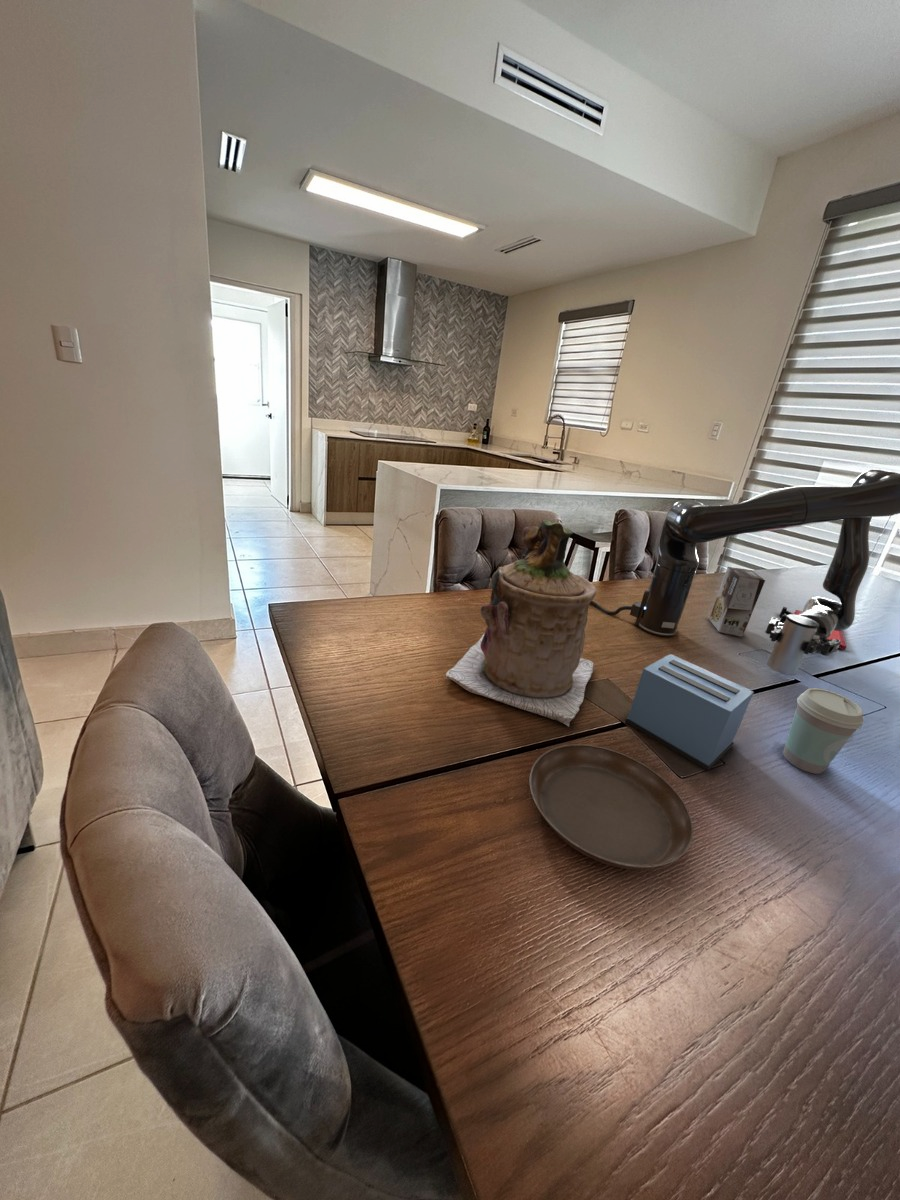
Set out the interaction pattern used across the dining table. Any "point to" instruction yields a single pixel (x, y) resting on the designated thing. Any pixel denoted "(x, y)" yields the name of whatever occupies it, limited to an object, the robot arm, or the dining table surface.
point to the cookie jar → (533, 632)
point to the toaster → (688, 709)
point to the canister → (792, 644)
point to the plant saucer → (610, 807)
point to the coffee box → (736, 600)
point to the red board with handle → (833, 636)
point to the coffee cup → (820, 729)
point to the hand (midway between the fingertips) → (790, 643)
